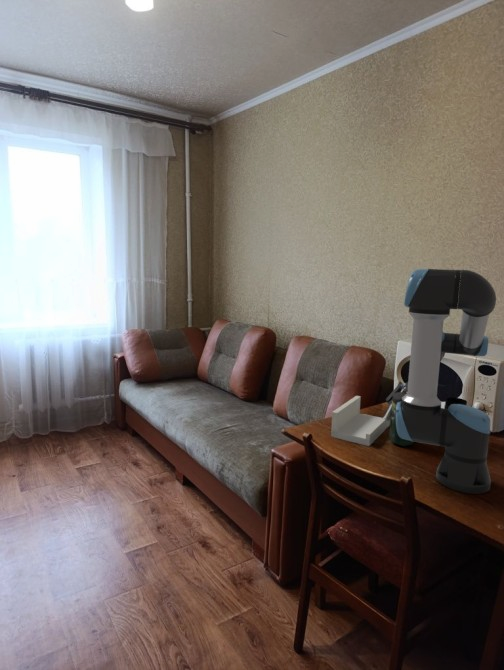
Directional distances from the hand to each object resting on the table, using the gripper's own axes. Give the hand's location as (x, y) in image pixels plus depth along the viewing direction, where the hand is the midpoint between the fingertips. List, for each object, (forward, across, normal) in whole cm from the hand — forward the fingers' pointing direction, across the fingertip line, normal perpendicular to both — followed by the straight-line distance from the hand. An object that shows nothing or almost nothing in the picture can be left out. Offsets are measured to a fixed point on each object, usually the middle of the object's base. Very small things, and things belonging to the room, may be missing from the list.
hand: (397, 423), depth 160 cm
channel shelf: (+5, +16, -6) cm, 18 cm away
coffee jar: (+3, 0, -8) cm, 9 cm away
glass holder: (-11, -13, -22) cm, 28 cm away
